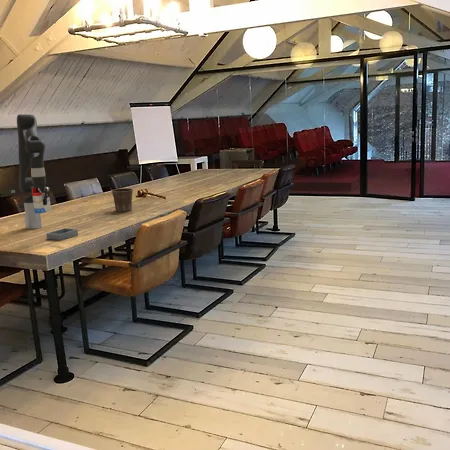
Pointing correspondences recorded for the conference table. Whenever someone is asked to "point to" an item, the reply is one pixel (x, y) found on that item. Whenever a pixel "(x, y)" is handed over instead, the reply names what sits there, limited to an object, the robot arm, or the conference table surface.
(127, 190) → the plant pot
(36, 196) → the ink box
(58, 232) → the tray
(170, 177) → the conference table surface
